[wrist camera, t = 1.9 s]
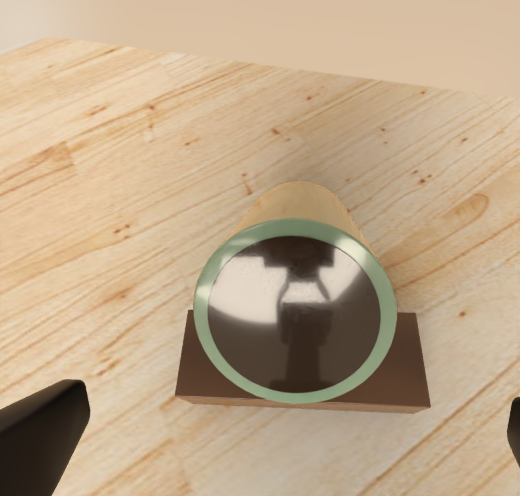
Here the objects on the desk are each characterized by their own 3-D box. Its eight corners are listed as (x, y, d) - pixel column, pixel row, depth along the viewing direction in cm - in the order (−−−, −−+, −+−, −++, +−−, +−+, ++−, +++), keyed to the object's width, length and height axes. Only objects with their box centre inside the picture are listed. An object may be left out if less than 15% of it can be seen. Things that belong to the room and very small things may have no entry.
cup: (360, 424, 19) (432, 386, 8) (239, 418, 20) (154, 376, 9) (345, 221, 25) (374, 43, 14) (253, 223, 26) (214, 55, 15)
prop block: (414, 413, 19) (431, 407, 16) (191, 403, 20) (174, 396, 18) (402, 329, 21) (416, 312, 18) (201, 325, 23) (187, 309, 20)
